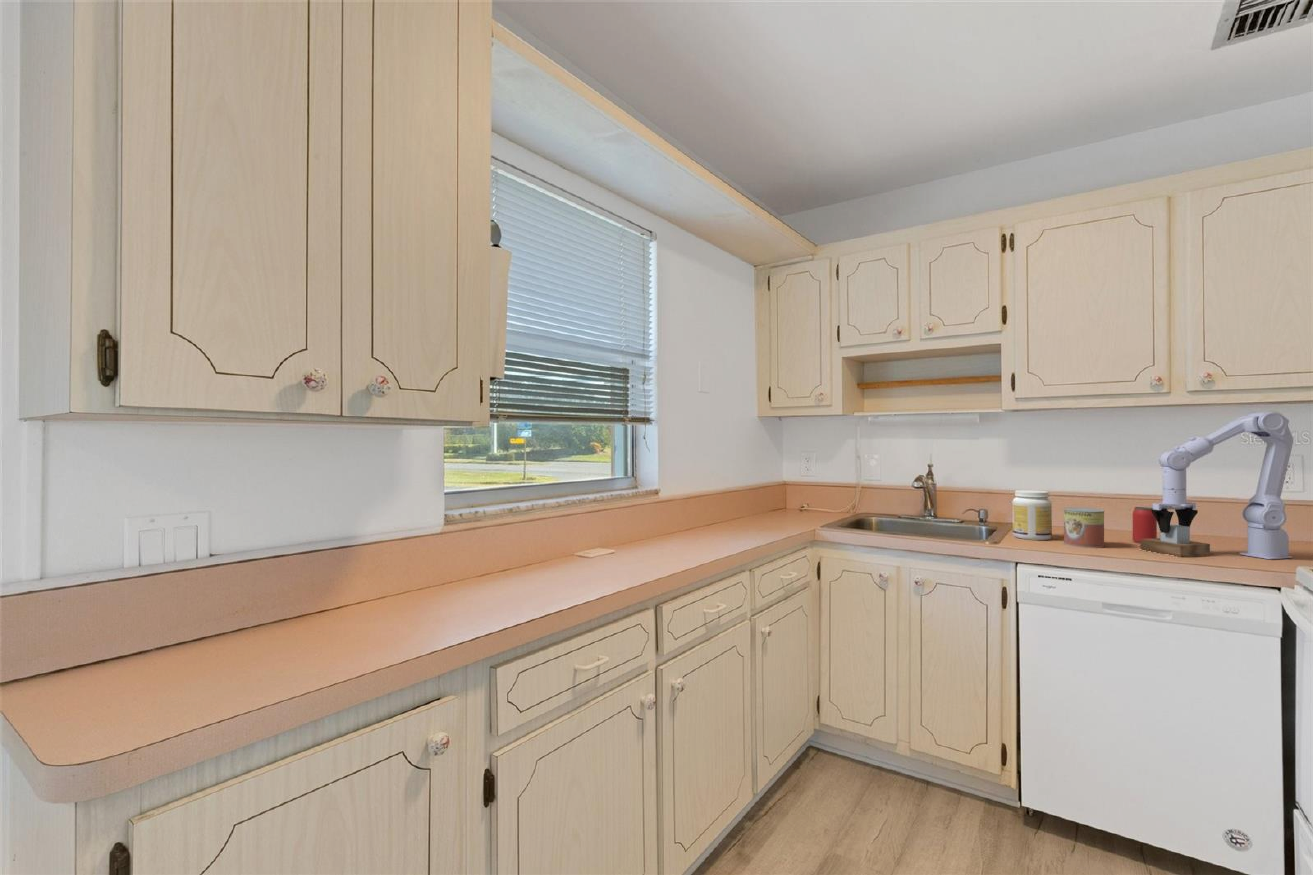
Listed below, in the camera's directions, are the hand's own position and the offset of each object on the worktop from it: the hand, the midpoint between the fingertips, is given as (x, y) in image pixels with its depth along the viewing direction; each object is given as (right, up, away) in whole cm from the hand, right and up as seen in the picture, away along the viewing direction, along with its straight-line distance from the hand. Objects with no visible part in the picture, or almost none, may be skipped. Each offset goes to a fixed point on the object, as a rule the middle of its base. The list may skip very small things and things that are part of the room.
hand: (1174, 532), depth 193 cm
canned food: (-19, -7, +14) cm, 24 cm away
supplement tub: (-28, -7, +28) cm, 40 cm away
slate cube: (0, -3, 0) cm, 3 cm away
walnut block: (0, -7, 0) cm, 7 cm away
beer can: (+5, -7, +18) cm, 19 cm away
